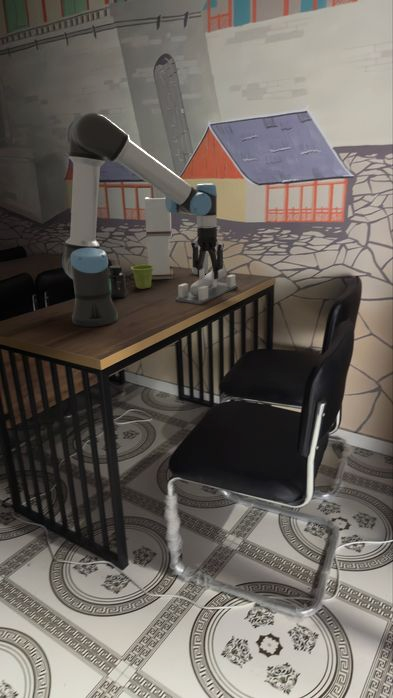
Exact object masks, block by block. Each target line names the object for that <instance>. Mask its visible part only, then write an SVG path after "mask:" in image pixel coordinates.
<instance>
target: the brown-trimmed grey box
mask: <svg viewBox="0 0 393 698" xmlns="http://www.w3.org/2000/svg"><path fill="white" fill-rule="evenodd" d="M144 216H145V217H144V218H145V230H146V231H145V232H146V248H147V249H146V252H147V265H152V266H154V268H153V271H152V279H151V280H168V279H169V280H172V279H173V278H174V269H172V268H170V267H171V266H170V252H171V245H170V244H171V243H170V240H171V239H172V237H173V235H172V233H173V232H172V213H170V212H168V210H167V208H166V205H165V197H161V198H158V197H157V198H152V197H151V198H150V197H148V196H147V197H145V198H144Z"/></svg>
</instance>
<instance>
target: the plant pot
mask: <svg viewBox="0 0 393 698" xmlns="http://www.w3.org/2000/svg"><path fill="white" fill-rule="evenodd" d="M130 268H131V269H130V270H132V273H133V277H134V282H135V285H136V288H137V289H141V290H144V289H149V288H151V287H152V280H153V279H152V271H153V268H154V266H152V265H148V264H137V265H134V266H133V265H132V266H131V267H130Z"/></svg>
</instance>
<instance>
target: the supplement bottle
mask: <svg viewBox="0 0 393 698" xmlns="http://www.w3.org/2000/svg"><path fill="white" fill-rule="evenodd" d="M122 267H123V266H121V265H117V264H115V265H110V266H108V270H109V282H110V294H111V299H123V298H125V297H127V287H126V275H125V274H124V272H122V271H123V270H122Z"/></svg>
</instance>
